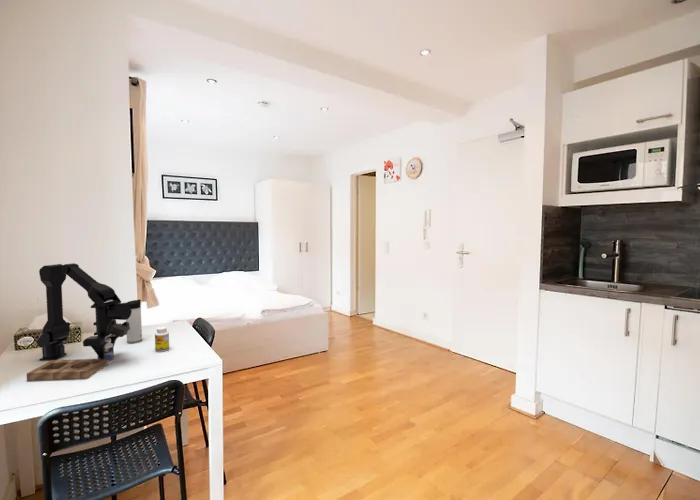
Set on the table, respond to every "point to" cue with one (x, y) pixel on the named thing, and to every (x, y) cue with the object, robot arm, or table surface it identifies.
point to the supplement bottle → (161, 339)
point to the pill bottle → (108, 351)
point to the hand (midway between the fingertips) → (106, 355)
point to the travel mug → (134, 322)
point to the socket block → (66, 369)
